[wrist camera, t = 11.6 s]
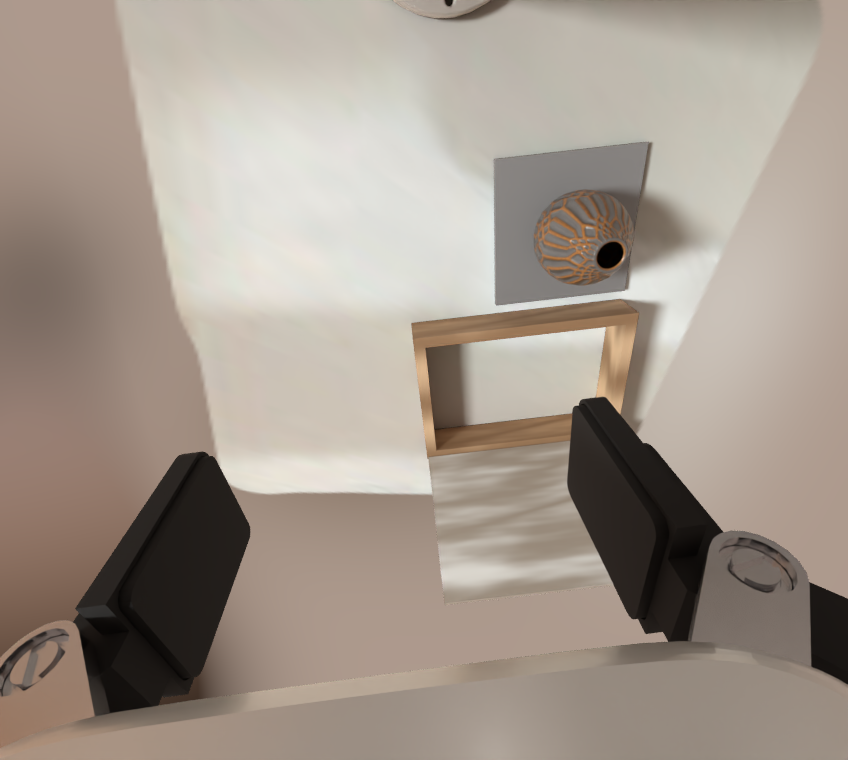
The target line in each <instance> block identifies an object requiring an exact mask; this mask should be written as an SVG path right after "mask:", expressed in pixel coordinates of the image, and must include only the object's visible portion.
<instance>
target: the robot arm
mask: <svg viewBox="0 0 848 760" xmlns="http://www.w3.org/2000/svg"><path fill="white" fill-rule="evenodd" d="M393 1H394V2H395V3H397V4H398V5H399V6H401V7H403V8H405V9H407V10H409V11H411V12H413V13H416V14H418V15H422V16H427V17H432V18H452V17H457V16H460V15H463V14H467V13H470V12H472V11H474V10H476V9H477V8H479V7H481V6H483V5H484V4H486V3H488V2H489V1H490V0H452V5H451V6H447V5H446V4H445V0H393ZM567 486H568V491H569V494H570V496H571V498H572V500H573V502H574V504H575V506H576V509H577V511H578V513H579V515H580V517H581V519H582V521H583V523H584V525H585V527H586V529H587V531H588V533H589V535H590V537H591V539H592V541H593V543H594V546H595V548H596V550H597V552H598V554H599V556H600V558H601V560H602V562H603V564H604V566H605V568H606V570H607V572H608V574H609V576H610V578H611V580H612V582H613V585H614V587H615V589H616V591H617V592H618V595H619V597H620V599H621V601H622V603H623V605H624V607H625V609H626V611H627V613H628V614H629V616H630V617H631V618H632V619H638V620H639V622H640V624H641V626H642V628H643V630H644V632H645V633H646V634H648V633H657V632H663V633H664V634H665V636H666V638H667V640H668V642H657V643H640V644H631V645H621V646H612V647H602V648H593V649H584V650H574V651H565V652H558V653H549V654H541V655H534V656H525V657H517V658H510V659H502V660H494V661H486V662H478V663H470V664H462V665H454V666H446V667H438V668H431V669H423V670H415V671H408V672H400V673H392V674H385V675H377V676H369V677H362V678H354V679H348V680H340V681H332V682H324V683H317V684H309V685H302V686H295V687H287V688H280V689H272V690H265V691H259V692H251V693H243V694H236V695H229V696H222V697H214V698H207V699H200V700H192V701H185V702H179V703H172V704H166V705H160V706H158V705H159V702H160V700H161V698H162V696H163V697H171V696H178V695H185V694H188V693H189V690H190V687H191V685H192V682H193V679H194V677H197V676H198V675H199V674H200V673H201V671H202V669H203V667H204V664H205V661H206V659H207V655H208V653H209V650H210V647H211V645H212V642H213V639H214V636H215V633H216V630H217V628H218V625H219V622H220V620H221V617H222V614H223V611H224V608H225V605H226V602H227V600H228V597H229V594H230V591H231V588H232V586H233V583H234V580H235V577H236V575H237V572H238V569H239V566H240V563H241V561H242V558H243V555H244V552H245V549H246V547H247V544H248V541H249V538H250V526H249V523H248V522H247V519H246V518H245V515H244V514H243V512H242V510H241V508H240V506H239V504H238V502H237V500H236V498H235V496H234V494H233V492H232V490H231V488H230V486H229V484H228V482H227V480H226V478H225V476H224V474H223V473H222V471H221V469H220V467H219V465H218V463H217V461H216V459H215V458H214V457H213V456H209V455H208V454H207V453H205V452H196V453H189V454H182V455H179V456H178V457H177V458H176V459H175V461H174V462H173V464H172V465H171V467H170V468H169V470H168V471H167V473H166V474H165V476H164V477H163V479H162V480H161V482H160V483H159V485H158V486H157V488H156V489H155V491H154V492H153V494H152V495H151V497H150V498H149V499H148V501H147V503H146V504H145V505H144V507H143V509H142V510H141V511H140V513H139V514H138V516H137V517H136V519H135V520H134V522H133V523H132V525H131V526H130V528H129V530H128V531H127V532H126V534H125V535H124V537H123V538H122V540H121V541H120V543H119V544H118V546H117V547H116V549H115V550H114V552H113V553H112V555H111V556H110V558H109V559H108V561H107V562H106V564H105V565H104V567H103V568H102V570H101V571H100V573H99V574H98V576H97V577H96V579H95V580H94V582H93V583H92V585H91V586H90V587H89V589H88V591H87V592H86V593H85V595H84V596H83V598H82V599H81V601H80V602H79V604H78V605H77V607H76V608H75V609H76V610H77V611H78V612H79V614H78V616H77V617H76V618H75V620H74V622H70V621H67V620H66V621H56V622H52V623H49V624H46V625H44V626H42V627H40V628H38V629H36V630H34V631H32V632H31V633H29V634H28V635H26V636H25V637H23V638H22V639H21V640H19V641H18V642H16V643H15V644H14V645H13V646H12V647H11V648H10V649H9V650H8V651H7V652H6V653H5V654H3V655H2V657H1V658H0V760H848V599H847V598H845V597H843V596H840V595H838V594H835V593H833V592H831V591H829V590H826V589H824V588H822V587H819V586H817V585H814V584H812V583H810V582H809V580H808V576H807V573H806V571H805V570H804V568H803V567H802V565H801V563H800V562H799V561H798V560H797V559H796V558H795V557H794V556H793V555H792V554H791V553H790V552H789V551H788V550H786V549H785V548H783V547H782V546H780V545H778V544H777V543H775V542H774V541H771V540H769V539H767V538H765V537H763V536H760V535H757V534H753V533H749V532H745V531H728V532H723V531H722V530H721V529H720V527H719V526H718V525H717V524H716V523H715V521H714V520H713V519H712V518H711V517H710V515H709V514H708V513H707V512H706V510H705V509H704V508H703V507H702V506H701V504H700V503H699V502H698V501H697V500H696V498H695V497H694V496H693V495H692V494H691V492H690V491H689V490H688V489H687V487H686V486H685V485H684V484H683V483H682V482H681V480H680V479H679V478H678V477H677V476H676V474H675V473H674V472H673V471H672V470H671V468H670V467H669V466H668V464H667V463H666V462H665V461H664V460H663V458H662V457H661V456H660V455H659V454H658V452H657V451H656V450H655V449H654V448H653V447H652V446H651V445H649V444H647V443H642V441H641V440H640V439H639V438H638V436H637V435H636V434H635V433H634V431H633V430H632V429H631V428H630V426H629V425H628V424H627V423H626V421H625V420H624V419H623V418H622V416H621V415H620V414H619V413H618V411H617V410H616V409H615V408H614V406H613V405H612V404H611V403H610V402H609V400H608V399H607V398H606V397H596V398H589V399H582V400H581V401H580V403H579V406H574V408H573V412H572V425H571V438H570V450H569V463H568V475H567Z"/></svg>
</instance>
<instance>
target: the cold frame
mask: <svg viewBox="0 0 848 760" xmlns="http://www.w3.org/2000/svg"><path fill="white" fill-rule="evenodd" d="M638 317H639V312H637V311H636V310H635V309H633V308H632V307H631V306H629V305H628V304H627V303H625V302H624V301H622V300H621V299H616V300H608V301H599V302H590V303H582V304H573V305H564V306H556V307H547V308H539V309H530V310H521V311H513V312H504V313H495V314H487V315H478V316H469V317H461V318H452V319H443V320H435V321H426V322H417V323H412V334H413V344H414V352H415V360H416V368H417V376H418V384H419V392H420V401H421V409H422V417H423V425H424V433H425V441H426V449H427V458H428V459H429V467H430V476H431V485H432V494H433V504H434V513H435V522H436V530H437V540H438V549H439V558H440V566H441V577H442V585H443V594H444V603H445V605H452V604H461V603H468V602H478V601H486V600H495V599H503V598H512V597H520V596H529V595H537V594H546V593H554V592H562V591H571V590H579V589H587V588H596V587H605V586H613V582H612V580H611V578H610V576H609V574H608V572H607V570H606V568H605V566H604V564H603V562H602V560H601V558H600V556H599V554H598V552H597V550H596V548H595V546H594V543H593V541H592V539H591V537H590V535H589V533H588V531H587V529H586V527H585V525H584V523H583V521H582V519H581V517H580V515H579V513H578V511H577V509H576V506H575V504H574V502H573V500H572V498H571V496H570V494H569V491H568V486H567V475H568V463H569V450H570V438H571V425H572V414H565V415H557V416H548V417H539V418H531V419H522V420H514V421H505V422H496V423H488V424H479V425H471V426H462V427H454V428H445V429H436V430H434V424H433V415H432V405H431V396H430V387H429V377H428V368H427V359H426V349H425V348H428V347H437V346H445V345H454V344H463V343H471V342H480V341H489V340H497V339H506V338H515V337H523V336H532V335H540V334H549V333H558V332H566V331H575V330H584V329H592V328H601V327H606V332H605V339H604V345H603V352H602V359H601V366H600V373H599V380H598V387H597V394H596V397H606V398H607V399H608V400H609V402H610V403H611V404H612V405H613V406H614V408H615V409H616V410H617V411H618V413H619V414H621V408H622V403H623V397H624V392H625V387H626V381H627V376H628V370H629V365H630V360H631V354H632V349H633V344H634V338H635V333H636V327H637V322H638Z"/></svg>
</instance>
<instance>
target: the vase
mask: <svg viewBox="0 0 848 760" xmlns="http://www.w3.org/2000/svg"><path fill="white" fill-rule="evenodd" d="M633 238H634V231H633V224H632V221H631V218H630V216H629V214H628V212H627V210H626V209H625V207H624V206H623V205H622V204H621V203H620V202H619V201H618V200H617V199H615V198H614V197H613V196H611V195H609V194H607V193H604V192H601V191H597V190H588V189H583V190H576V191H572V192H569V193H566V194H564V195H562V196H560V197H558V198H557V199H555V200H554V201H553V202H551V203H550V204H549V205H548V206H547V207H546V209H545V210H544V211H543V212H542V214H541V215H540V217H539V219H538V221H537V224H536V227H535V230H534V238H533V244H534V250H535V254H536V257H537V260H538V261H539V263H540V265H541V266H542V267H543V269H544V270H545V271H546V272H547V273H548V274H549V275H550V276H552V277H553V278H554V279H556V280H558V281H560V282H563V283H566V284H570V285H578V286H583V285H591V284H595V283H598V282H601V281H603V280H605V279H607V278H609V277H610V276H612V275H613V274H614V273H615V272H617V271H618V270H619V269H620V267H621V266H622V265H623V264H624V263H625V261H626V259H627V258H628V256H629V254H630V251H631V248H632V244H633Z"/></svg>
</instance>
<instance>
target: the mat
mask: <svg viewBox="0 0 848 760" xmlns="http://www.w3.org/2000/svg"><path fill="white" fill-rule="evenodd" d="M648 143H649V142H639V143H631V144H622V145H613V146H604V147H596V148H587V149H578V150H569V151H561V152H552V153H543V154H534V155H526V156H517V157H508V158H499V159H494V231H495V304H496V305H505V304H513V303H522V302H531V301H539V300H548V299H556V298H565V297H574V296H582V295H591V294H600V293H608V292H617V291H625V285H626V279H627V273H628V267H629V260H630V254H631V251H630V254H629V256H628V258H627V259H626V261H625V263H624V264H623V265H622V266H621V267H620V269H619V270H618V271H617V272H615V273H614V274H613V275H612V276H610V277H609V278H607V279H605V280H603V281H601V282H598V283H595V284H591V285H583V286H578V285H570V284H566V283H563V282H560V281H558V280H556V279H554V278H553V277H552V276H550V275H549V274H548V273H547V272H546V271H545V270H544V269H543V267H542V266H541V265H540V263H539V261H538V260H537V257H536V254H535V250H534V244H533V238H534V230H535V227H536V224H537V221H538V219H539V217H540V215H541V214H542V212H543V211H544V210H545V209H546V207H547V206H548V205H549V204H550V203H551V202H553V201H554V200H555V199H557V198H558V197H560V196H562V195H564V194H566V193H569V192H572V191H576V190H583V189H588V190H597V191H601V192H604V193H607V194H609V195H611V196H613V197H614V198H615V199H617V200H618V201H619V202H620V203H621V204H622V205H623V206H624V207H625V209H626V210H627V212H628V214H629V216H630V218H631V221H632V224H633V231H634V229H635V223H636V217H637V211H638V205H639V198H640V192H641V186H642V180H643V174H644V167H645V161H646V155H647V149H648Z"/></svg>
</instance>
